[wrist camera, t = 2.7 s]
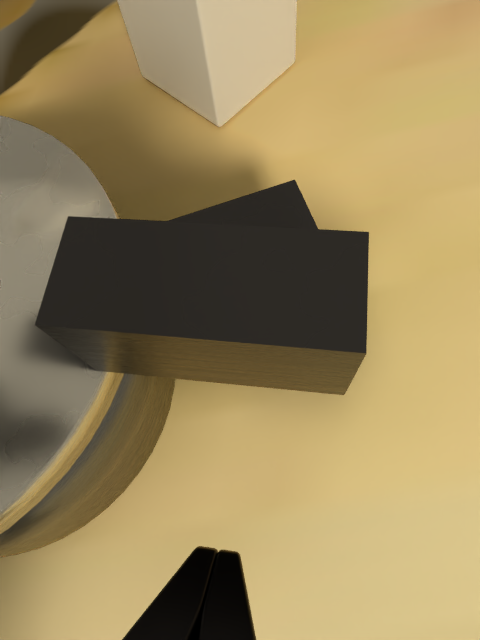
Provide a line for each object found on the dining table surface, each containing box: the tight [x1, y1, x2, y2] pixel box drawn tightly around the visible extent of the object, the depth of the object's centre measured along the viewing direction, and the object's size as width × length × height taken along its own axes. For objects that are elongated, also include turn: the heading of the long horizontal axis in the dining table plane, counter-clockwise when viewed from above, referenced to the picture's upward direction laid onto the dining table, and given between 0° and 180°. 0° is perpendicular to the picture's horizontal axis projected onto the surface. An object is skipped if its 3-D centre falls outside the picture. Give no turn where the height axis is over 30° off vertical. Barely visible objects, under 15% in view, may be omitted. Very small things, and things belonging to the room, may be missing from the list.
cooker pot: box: [0, 180, 318, 557], centre depth 20 cm, size 26×16×7 cm, turn 108°
